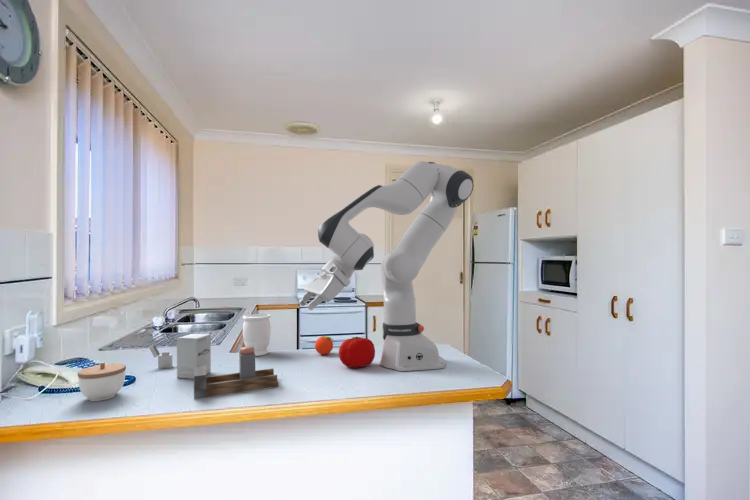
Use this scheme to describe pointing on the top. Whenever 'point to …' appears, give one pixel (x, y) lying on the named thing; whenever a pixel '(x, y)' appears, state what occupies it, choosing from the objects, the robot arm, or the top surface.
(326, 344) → the clementine
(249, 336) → the jar
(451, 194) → the robot arm
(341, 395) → the top surface
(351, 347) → the tomato
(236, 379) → the base
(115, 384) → the lidded jar
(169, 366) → the lighter
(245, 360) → the dome-capped grey post
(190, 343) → the supplement box
